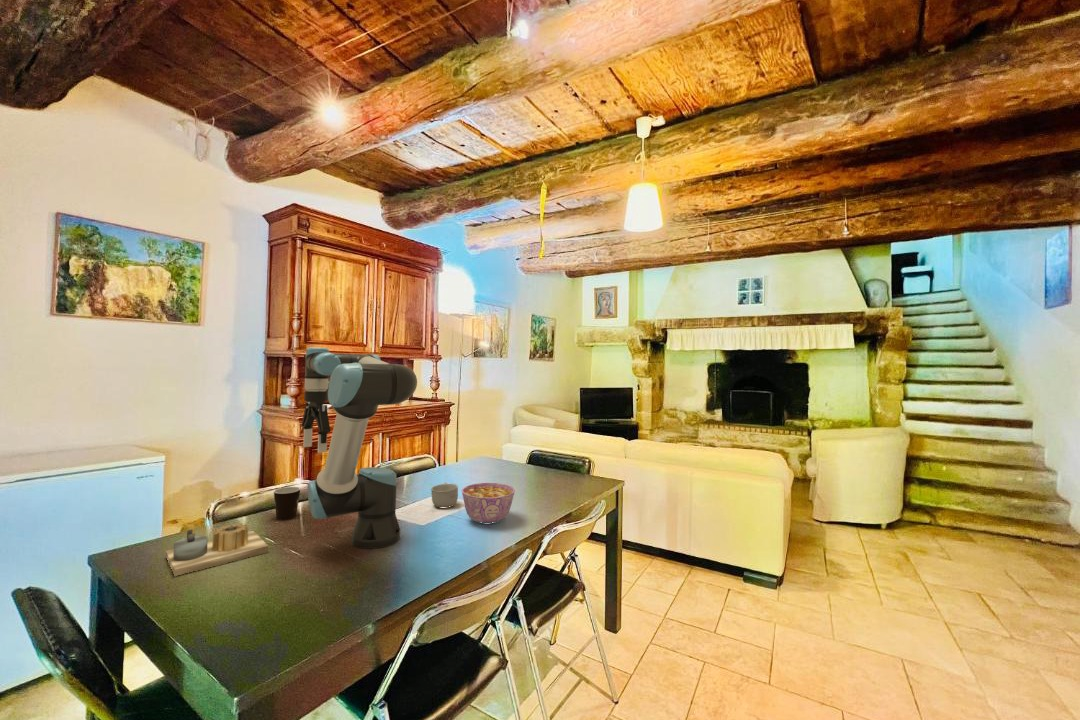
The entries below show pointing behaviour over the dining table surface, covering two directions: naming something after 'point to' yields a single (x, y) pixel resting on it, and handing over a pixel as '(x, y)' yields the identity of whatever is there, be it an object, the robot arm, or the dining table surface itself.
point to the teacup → (444, 495)
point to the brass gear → (230, 537)
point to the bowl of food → (488, 501)
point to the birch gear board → (209, 553)
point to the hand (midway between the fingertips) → (314, 449)
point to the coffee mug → (286, 502)
